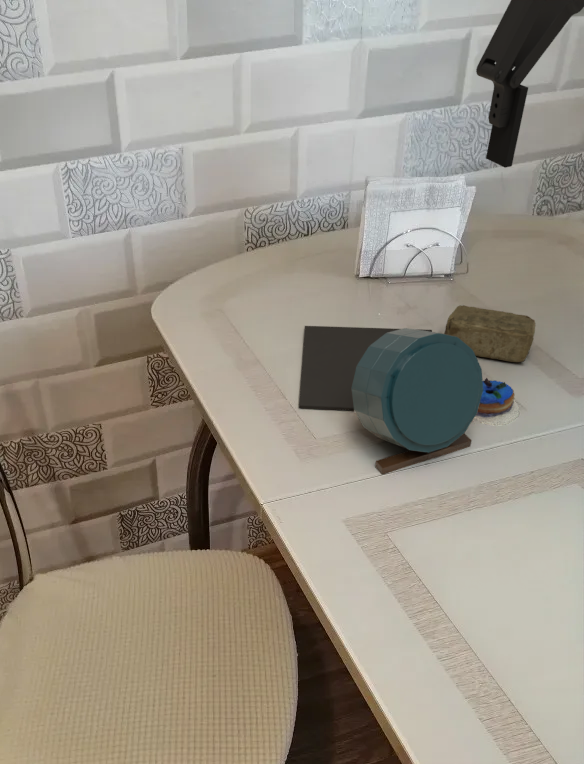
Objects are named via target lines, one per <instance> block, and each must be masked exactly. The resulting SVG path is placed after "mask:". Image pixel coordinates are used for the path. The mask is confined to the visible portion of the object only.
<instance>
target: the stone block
mask: <svg viewBox="0 0 584 764" xmlns="http://www.w3.org/2000/svg"><path fill="white" fill-rule="evenodd" d="M536 324H537V323H536V320H535V319H533V318H531V317H530V316H528V315H526V314H525V315H524V314H516V313H513V312H507V311H502V310H501V311H500V310H494V309H487V308H481V307H475V306H468V305H464V304H463V305H458V306H456V308H455V309H454V310H453V312H452V313H451V314H449V316H448V318H447V322H446V324H445V330H444V333H443V334H446V335H451V336H455V337H458V338H459V339H461V340H462V341H463V342H464V343H465V344H467V345H468V346H469V347H470V348H471V349H472V350H473V351H474V353H475V356H476V357H479V358H480V357H481V358H488V359H492V360H500V361H504V362H505V361H506V362H511V363H522V362H524V361H525V360H526V358H527V356H528V355H529V353H530V350H531V348H532V345H533V343H534V337H535V333H536Z"/></svg>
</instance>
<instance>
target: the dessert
mask: <svg viewBox="0 0 584 764" xmlns="http://www.w3.org/2000/svg"><path fill="white" fill-rule="evenodd" d="M482 383H483V393H482V396H481V400H480V404H479V408H478V411H477V414H476V416H475V417H474V419H473V420H472V422H473V425H476V423H474V422H475V419H476V420H477V421H479V422H480V424H483V425H489V426H495V427H498V426H506V425H509V424H511V423H512V422H514V421H515V420H517V419H518V417H519V415H520V407H519V404H518V402H516V401H515V391H514V389H513V388H512V386H510V385H509V384H508V383H506V381H497V380H490V379H489V378H488V377H486V378H484V380H482Z"/></svg>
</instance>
